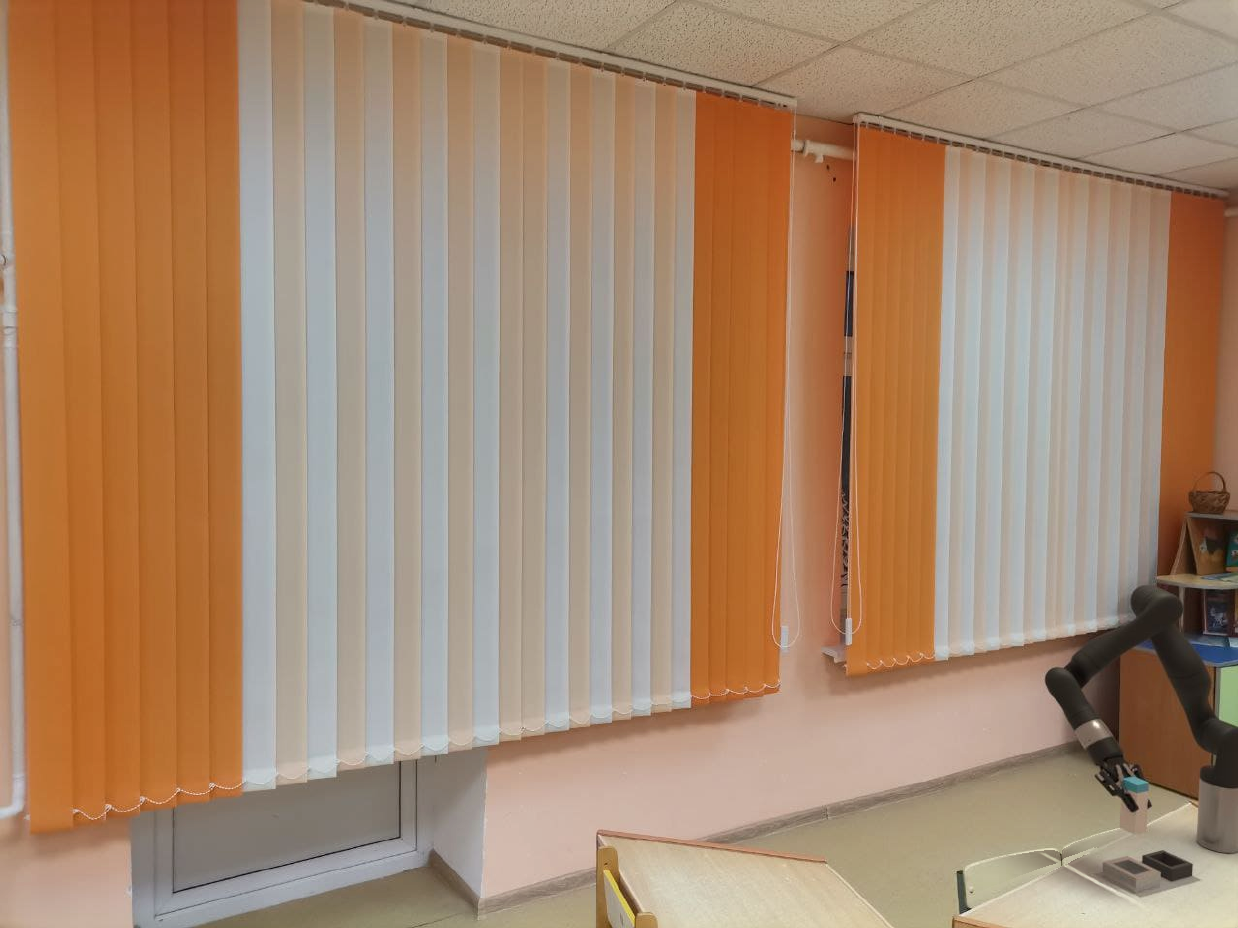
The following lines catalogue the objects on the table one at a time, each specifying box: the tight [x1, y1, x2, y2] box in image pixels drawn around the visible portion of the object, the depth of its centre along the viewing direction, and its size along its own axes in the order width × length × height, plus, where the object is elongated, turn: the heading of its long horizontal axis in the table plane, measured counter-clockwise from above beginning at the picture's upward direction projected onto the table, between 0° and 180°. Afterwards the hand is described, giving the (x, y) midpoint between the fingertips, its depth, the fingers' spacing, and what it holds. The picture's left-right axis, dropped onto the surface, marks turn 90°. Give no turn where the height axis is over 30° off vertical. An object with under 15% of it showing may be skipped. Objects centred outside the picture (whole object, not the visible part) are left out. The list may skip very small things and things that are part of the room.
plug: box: [1119, 777, 1150, 836], centre depth 212 cm, size 4×4×12 cm
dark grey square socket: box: [1141, 849, 1194, 882], centre depth 218 cm, size 8×8×3 cm
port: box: [1102, 855, 1161, 893], centre depth 213 cm, size 9×9×4 cm
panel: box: [1094, 860, 1202, 899], centre depth 215 cm, size 22×12×1 cm, turn 114°
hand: (1141, 809), depth 210 cm, fingers closed on plug, 4 cm apart
